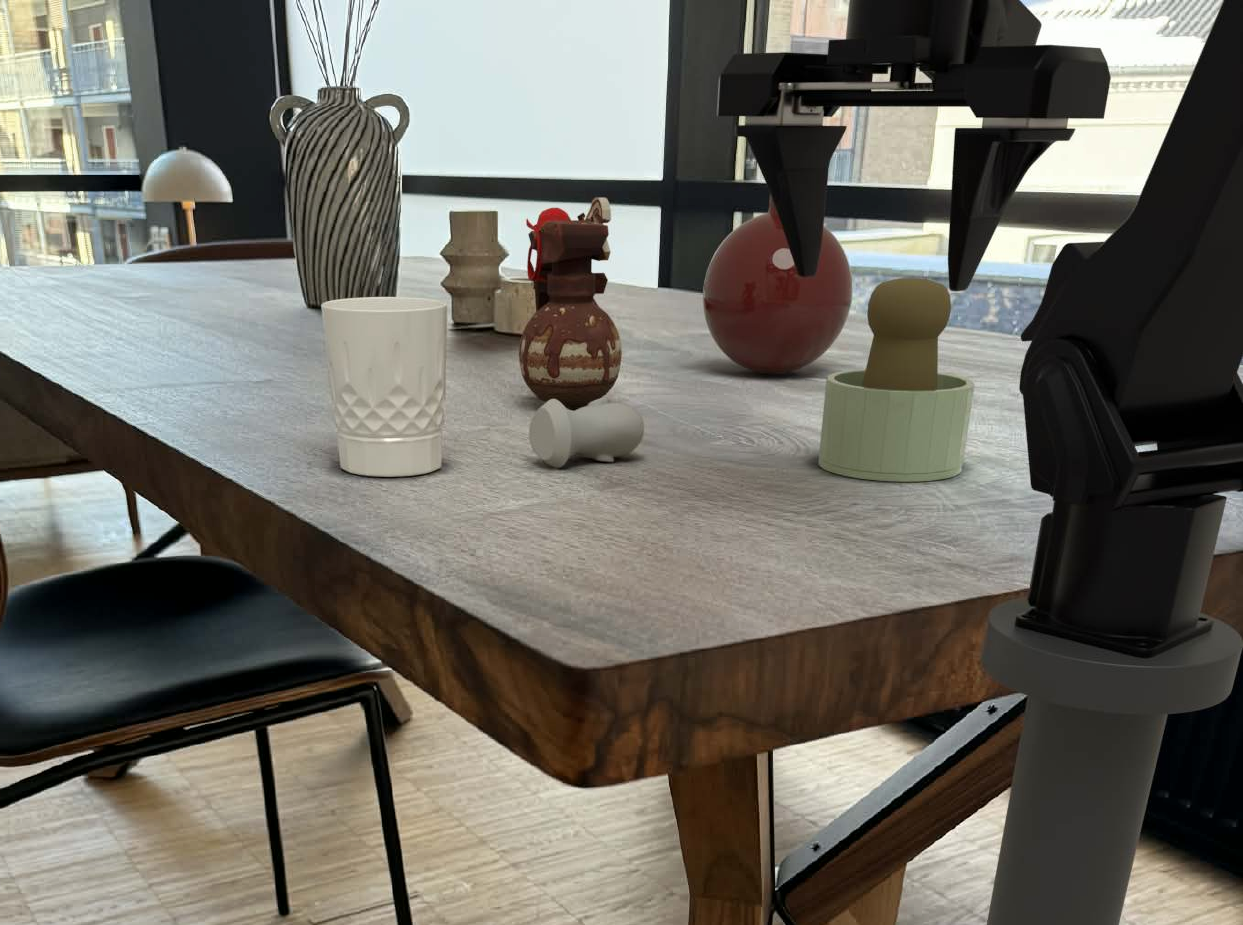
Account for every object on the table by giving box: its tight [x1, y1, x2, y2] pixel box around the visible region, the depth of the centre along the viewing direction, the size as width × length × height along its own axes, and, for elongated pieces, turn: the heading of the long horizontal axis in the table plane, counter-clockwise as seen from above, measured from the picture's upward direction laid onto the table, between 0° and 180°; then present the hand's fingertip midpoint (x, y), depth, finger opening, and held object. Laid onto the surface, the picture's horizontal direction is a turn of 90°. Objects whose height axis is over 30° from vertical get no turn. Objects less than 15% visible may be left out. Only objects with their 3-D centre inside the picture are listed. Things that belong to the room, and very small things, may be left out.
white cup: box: [320, 296, 448, 478], centre depth 93 cm, size 8×8×10 cm
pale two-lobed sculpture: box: [528, 397, 645, 469], centre depth 97 cm, size 4×8×5 cm
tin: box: [818, 368, 976, 483], centre depth 96 cm, size 9×9×6 cm
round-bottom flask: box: [702, 193, 854, 375], centre depth 127 cm, size 13×13×20 cm
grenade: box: [518, 197, 623, 409], centre depth 113 cm, size 10×8×15 cm
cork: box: [862, 277, 952, 391], centre depth 94 cm, size 6×6×11 cm
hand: (879, 283), depth 74 cm, fingers open, 9 cm apart
